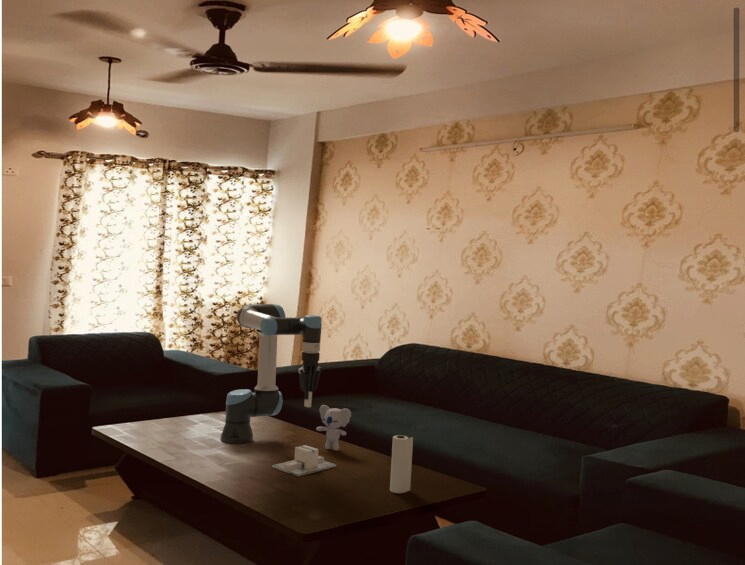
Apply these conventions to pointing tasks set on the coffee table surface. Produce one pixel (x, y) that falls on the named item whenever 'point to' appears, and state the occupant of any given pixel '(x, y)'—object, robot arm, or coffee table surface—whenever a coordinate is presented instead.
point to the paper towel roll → (401, 464)
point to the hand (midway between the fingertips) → (307, 406)
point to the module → (307, 455)
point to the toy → (333, 424)
